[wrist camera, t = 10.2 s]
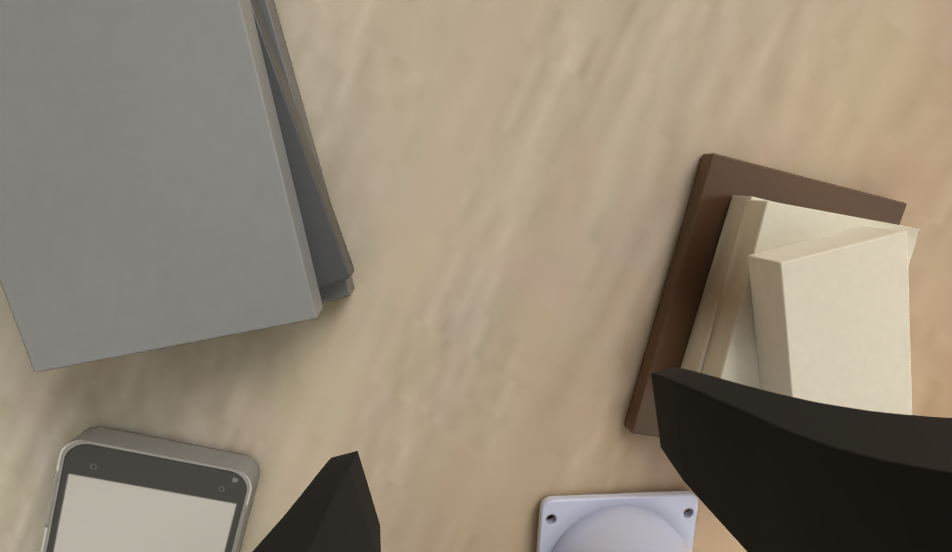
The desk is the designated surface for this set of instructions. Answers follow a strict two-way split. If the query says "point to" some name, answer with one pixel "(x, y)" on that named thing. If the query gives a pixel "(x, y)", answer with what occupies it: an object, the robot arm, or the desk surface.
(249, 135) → the grey book stack
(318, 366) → the desk surface
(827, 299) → the cream rectangular block
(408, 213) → the desk surface
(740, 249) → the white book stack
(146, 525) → the smartphone
